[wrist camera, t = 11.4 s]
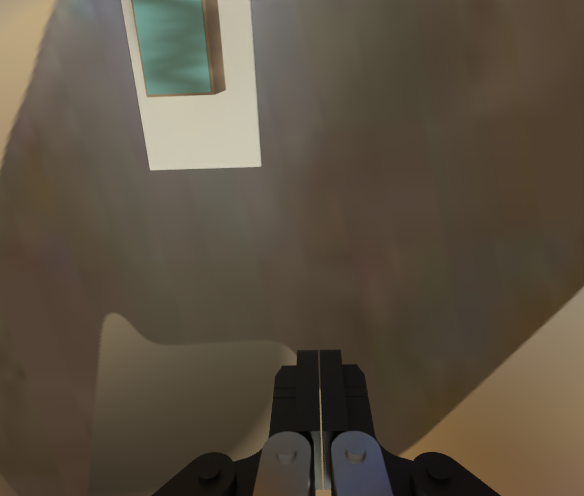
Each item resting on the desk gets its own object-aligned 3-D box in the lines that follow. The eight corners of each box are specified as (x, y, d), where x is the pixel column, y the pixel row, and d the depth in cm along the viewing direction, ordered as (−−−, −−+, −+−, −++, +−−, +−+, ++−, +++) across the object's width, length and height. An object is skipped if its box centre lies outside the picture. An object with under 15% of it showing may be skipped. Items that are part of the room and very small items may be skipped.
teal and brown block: (226, 90, 36) (209, -87, 31) (213, 95, 31) (192, -114, 26) (166, 92, 36) (141, -83, 31) (145, 97, 31) (111, -109, 26)
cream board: (244, -95, 31) (243, -98, 31) (261, 165, 39) (261, 166, 38) (109, -88, 32) (105, -90, 31) (152, 168, 39) (150, 170, 39)
